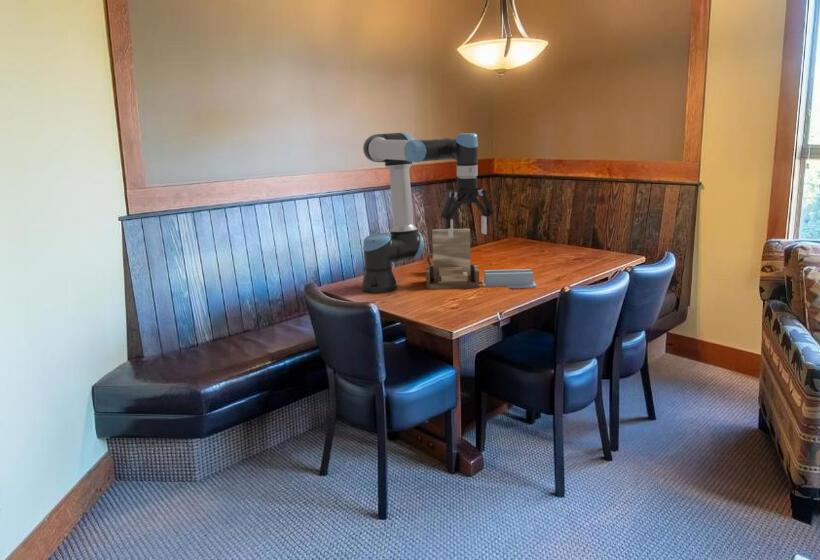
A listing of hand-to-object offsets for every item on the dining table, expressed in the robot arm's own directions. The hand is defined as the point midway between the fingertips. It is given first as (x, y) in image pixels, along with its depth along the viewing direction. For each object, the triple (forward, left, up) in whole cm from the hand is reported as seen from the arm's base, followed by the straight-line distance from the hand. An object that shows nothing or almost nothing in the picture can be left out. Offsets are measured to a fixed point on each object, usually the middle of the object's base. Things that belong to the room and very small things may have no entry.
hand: (467, 235), depth 226 cm
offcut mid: (-27, +12, -24) cm, 38 cm away
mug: (-50, +19, -28) cm, 60 cm away
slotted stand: (-16, +32, -28) cm, 45 cm away
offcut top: (-27, +10, -22) cm, 36 cm away
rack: (-29, +12, -28) cm, 42 cm away
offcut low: (-27, +11, -27) cm, 39 cm away
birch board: (-32, +14, -27) cm, 44 cm away
